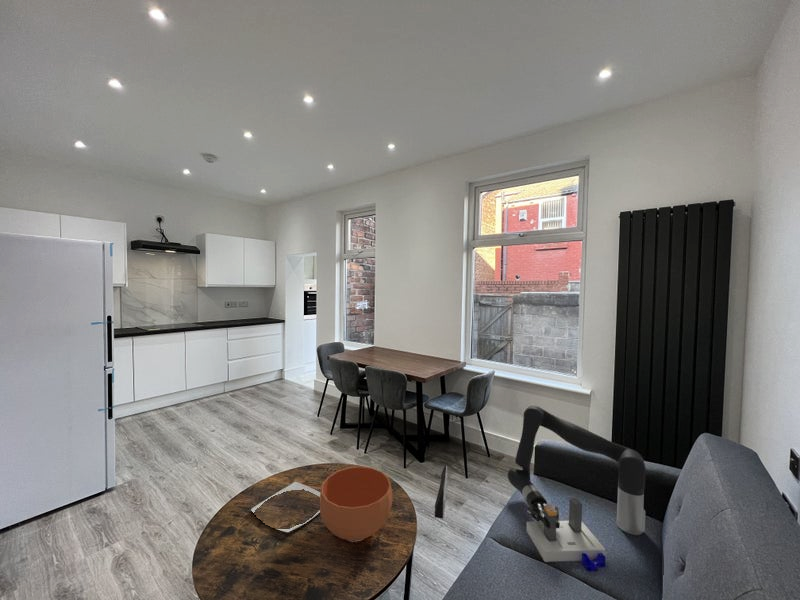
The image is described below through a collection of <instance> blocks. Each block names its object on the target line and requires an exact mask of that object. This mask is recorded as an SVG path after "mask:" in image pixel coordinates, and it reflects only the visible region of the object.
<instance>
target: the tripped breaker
mask: <svg viewBox="0 0 800 600" xmlns="http://www.w3.org/2000/svg"><path fill="white" fill-rule="evenodd" d="M554 508H555V506H554V505H552V504H548V505H544V516H545V517H546V518H547V520H548V521H549V522H550V529H548V528H547V527H546V526H545V525H544V535H545V536H546V538H547V539H548V541H556V520H557V511H556V510H555V509H554Z"/></svg>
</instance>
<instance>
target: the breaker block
mask: <svg viewBox="0 0 800 600" xmlns="http://www.w3.org/2000/svg"><path fill="white" fill-rule="evenodd" d="M559 522H560V527H559V528H556V541H548V539H547V538H546V536H545V535H544V523H543V522H541V521H539V522H538V521H536V520H535V521H526V529H525V531H526V533H527V534H528V536H529V538H530V540H531V541H532V543H533V545H534V546H535V548H536V549H537V551H538V553H539V555H540V557H541V558H542V560H543V561H544V562H545V563H549V562H577V561H578V562H579V561H581V562H582V553H586V554H587V556H588V557H589V559H595V558H596V557H597V556H598V553H603V554H604V556H605V557H606V558H607V556H606V553H607V549H606V548H605V547H604V546H603V544H601V542H600V541H599V540H598V539H597V538H596V536H595V535H594V534H593V533H592V532H591V531H590V529H589V528H588V527H587V526H586V525H585V523H584V522H583V521H582V526H581V532H577V533H574V531H573V530H572V529H571V528H570V526H569V520H559Z"/></svg>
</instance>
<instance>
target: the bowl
mask: <svg viewBox="0 0 800 600" xmlns="http://www.w3.org/2000/svg"><path fill="white" fill-rule="evenodd" d="M392 506H393V489H392V484H391V481H390V477H388V476H387V475H386V474H385V473H384V472H383V471H381V470H379V469H377V468H374V467H369V466H361V465H360V466H349V467H346V468H343V469H339V470H336V471H335V472H333V473H332V474H330V475H329V476H327V477H326V479H325V480H324V482H323V483H322V485H321V488H320V513H319V514H320V517H321V520H322V522H323V523H324V525H325V527H326V528H327V529H328V530H329V531H330V532H331V533H332V534H333V535H335V536H336V537H337V538H340V539H342V540H345V539H346V540H345V541H347V540H352V541H356V540H361V539H365V538H366V539H367V538H369V537H371V536H373V535H375V534H376V533H377V532H378V531H379V530H380V529H381V528H382V527H383V525H384V524H385V523H386V522H387V520H388V517H389V515H390V512H391V508H392ZM366 539H365V540H366Z"/></svg>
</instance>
